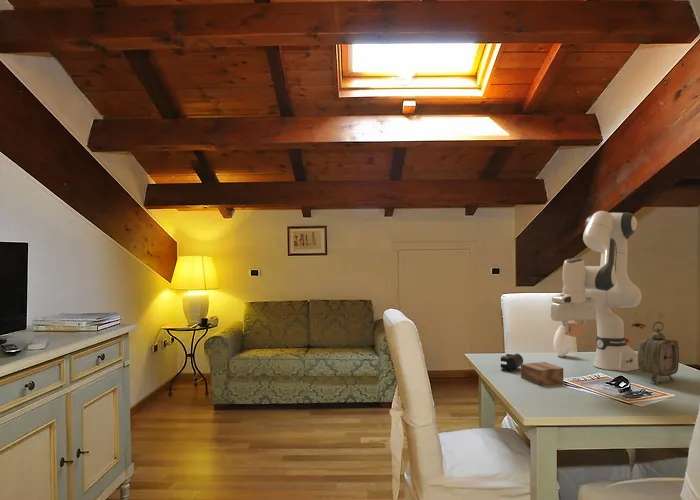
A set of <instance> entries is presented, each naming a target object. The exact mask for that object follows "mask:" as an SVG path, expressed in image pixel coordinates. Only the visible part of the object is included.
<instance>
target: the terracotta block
mask: <svg viewBox="0 0 700 500" xmlns="http://www.w3.org/2000/svg"><path fill="white" fill-rule="evenodd" d="M567 324H568V327H570V332H566V331H565V335H568V336H569V337H575V338H576V337H584V330H585V329H584V328H585V325H584V324H582V323H580V322H575V321H573V322H572V321H571V322H570V321H568V323H567Z"/></svg>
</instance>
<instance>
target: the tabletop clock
mask: <svg viewBox="0 0 700 500" xmlns="http://www.w3.org/2000/svg"><path fill="white" fill-rule="evenodd" d="M657 324H661V328H659V327H657V328H656V329H655V326H656V325H657ZM664 328H665V327H664V323H663V322H662V321H655V322H654V324H653V325H652V330H653V331H654V332H653V333H652V334H651V336H650V337H649V338H645V339H642V340H640V341H639V342H638V344H637V354H638V367H639V369H638V370H639V371H641V372H643V373H645V374H651V375H652V376H651V377H650V380H651V381H652V382H653V384H654V385H659V381H658V380H657V379H658V378H657V377H658V376H660V377H669V381H670V382H674V381H675V378H674V377H672V375H675V374H676V373H678V371H679V365H680V364H679V363H680V352H679V343H678V341H677V340H674V339H669V338H666V336H665V334H664V333H662V331H663V330H664Z"/></svg>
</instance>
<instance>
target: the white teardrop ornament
mask: <svg viewBox="0 0 700 500" xmlns="http://www.w3.org/2000/svg"><path fill="white" fill-rule="evenodd" d="M560 322H561V323H560V326H558V328H557V330H556V331H555V334H554V336H553V349H554V352H555V354H557V356H559V357H561V358H562V357H566V355H568V354H569V351H570V348H571V339H570V336H568V335H565V327H564V325H563V324H562V321H560Z"/></svg>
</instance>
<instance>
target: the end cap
mask: <svg viewBox="0 0 700 500" xmlns="http://www.w3.org/2000/svg"><path fill="white" fill-rule="evenodd" d="M500 362H504V363H506V364H504V363H500V371H501V372H502V371H503V372H509V373H510V372H513V371H514V370H516V369H518V368H521V364H524V357H523V356H522V355H521V354H519V353H514V354H512V353H511V354H510V353H507V354H505V355H502V356H501V357H500Z"/></svg>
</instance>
